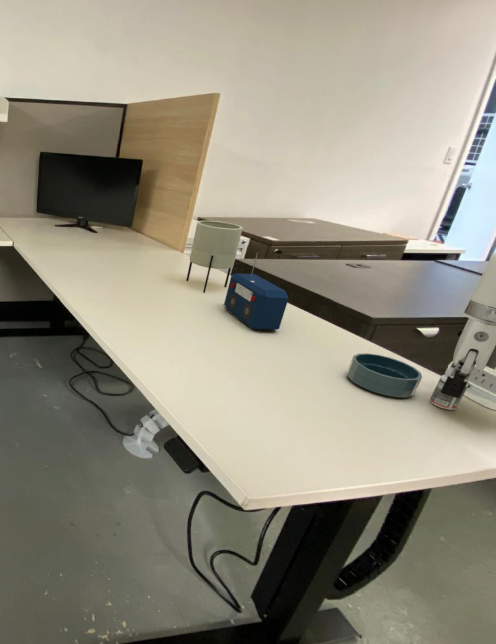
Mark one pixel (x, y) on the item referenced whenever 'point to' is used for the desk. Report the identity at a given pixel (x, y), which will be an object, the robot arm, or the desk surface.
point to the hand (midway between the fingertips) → (450, 390)
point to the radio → (256, 301)
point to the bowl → (384, 375)
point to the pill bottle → (443, 399)
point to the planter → (215, 246)
